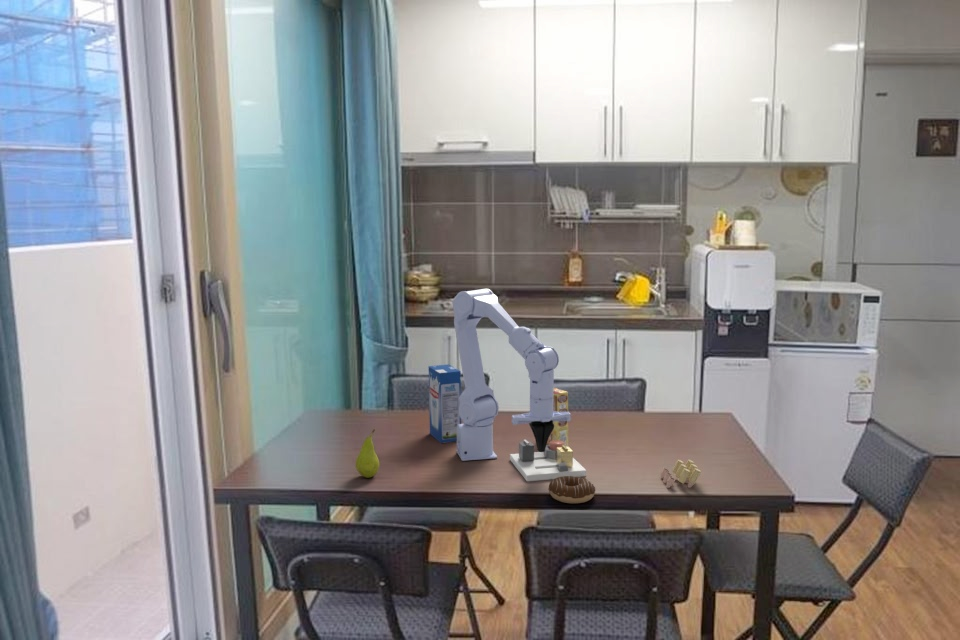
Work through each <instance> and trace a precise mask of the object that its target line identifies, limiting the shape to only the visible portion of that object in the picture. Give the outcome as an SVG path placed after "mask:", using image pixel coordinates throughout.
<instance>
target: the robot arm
mask: <svg viewBox="0 0 960 640" xmlns="http://www.w3.org/2000/svg"><path fill="white" fill-rule="evenodd" d="M451 303H452V309H453V313H454V314H453V315H454V318H453V325H454V332H455V336H456V337H455V338H456V343H457V348H458V353H459V359H460V366H461V371H462V372H461V373H462V376H463V383H464V390H462V391H461V395H460V397H459V401H460V406H459V415H460V418H461V422H463V423H461V424H458V425H457V441H456V454H457V455H458V456H459V458H460V460H461V461H462V462H465V461H466V462H467V461H477V460H488V459H497V458H498V455H497V454H496V453H495V451H494V440H493V439H494V438H493V437H494V433H493V431H494V430H493V427H494V426H493V424H494V422H495V417H497V415H498V413H499V409H500V407H499V402H498V400H497V399H496V396H495V394H494V393H495V392H494V389H492V388H491V386H488V385H487V383H486V379H485V372H484V366H483V361H482V355H481V349H480V343H479V337H478V333H477V325H478V323H479V322H480V320H481V319H482V318H488V319H489V320H490V321H491V322H492V323H494V324H495V325H496V326H497V327H498V328H499V329H500V330H502V332H503V333H504V334H506V335H507V336H508V344H509V345H510V346H511V347H512V348H513V349H514V350H515V351H516V352H517V353H518V354H519V355H520V357H522V359H523V360H524V365H525V368H526V369H527V371H528V378H529V412H526V413H521V414H520V413H519V414H513V415H511V424H512V425H513V426H518V425H521V424H522V425H524V424H525V425H526V424H528V425H529V427H530V429H531V431H532V434H533V436H534V439H535V444H536V450H537V452H545V448H546V445H548V444H547V441H548V438H549V436H550V434H551V432H552V431H553V429H554V424H553V422H555V421H568V422H571V421H572V413H570V411H568V412H553V390H554V388H555V387H554V386H555V385H554V383H555V381H554V378H555V377H554V376H555V375H554V373H555V371H554V370H555V369H557V367H558V365H559V361H560V360H559V355H558V353H557V351H556V350H555V348H554V347H552V346H549V345H546V344H544V343H543V342H542V341H540V340H539V339H538V338H537V337H536V336H535V335H534V334H533V333H532V329H530V328H529V327H526V326H519V325H518V324H517V323H516V322H515V320H514V319H513V318H512V317H511V316H510V315H509V313H508V312H507V311H506V310H505V308H504V307H503V305H501V304H500V302H499V299H498V296H497V295H496V294H494V292H493V291H492V290H491V289H489V288H485V287H484V288H480V289H474V290H473V289H472V290H467V291H466V290H462V291H459V292H458V293H457V294H456V295H455V297H454V298H453V300H452V302H451Z"/></svg>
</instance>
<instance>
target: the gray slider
mask: <svg viewBox="0 0 960 640" xmlns="http://www.w3.org/2000/svg"><path fill="white" fill-rule="evenodd" d="M534 452H535V445H534V443H533V442H531V440H529V441H528V440H527V439H523V441H518V454H519V458H520V459H521V460H522V461H534Z"/></svg>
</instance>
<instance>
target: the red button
mask: <svg viewBox="0 0 960 640" xmlns="http://www.w3.org/2000/svg"><path fill="white" fill-rule="evenodd" d="M562 445H565V442H564V441H560V440H553V441H550V442H549V449H550V450H556V451H557V447H562Z"/></svg>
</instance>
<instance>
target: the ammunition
mask: <svg viewBox="0 0 960 640" xmlns="http://www.w3.org/2000/svg"><path fill="white" fill-rule="evenodd" d="M698 468H699V467H698V466H697V465H696V464H695V461H694V460H691V459H687V461H686V463H685V462H684V461H682V460H681V459H677V461H675V465H674V466H673V469H672V470H671V472H672V473H673V474H675V475H674V476H675V478H677V479H678V480H677V481H678V482H680V483H681V484H687V488H688V489H691V488H692V487H693V486H694V485H695V484H696V482H697V481H698V478H699V476H700V474H701V472H702V471H701V470H700V469H698ZM669 472H670V470H669V469H668V468H665V467H662V471H661V472H660V479H661V480H662V481H663V482H662V483H664V484H666V486H665V487H666V489H669V488H671V487H672V486H673V485H674V483H675V481H676V479H675V478H673V475H672V474H671V473H669Z"/></svg>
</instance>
